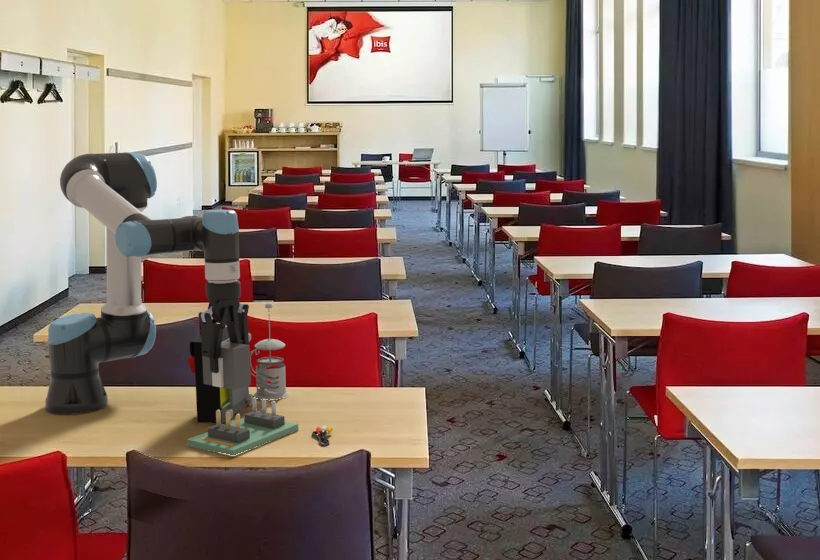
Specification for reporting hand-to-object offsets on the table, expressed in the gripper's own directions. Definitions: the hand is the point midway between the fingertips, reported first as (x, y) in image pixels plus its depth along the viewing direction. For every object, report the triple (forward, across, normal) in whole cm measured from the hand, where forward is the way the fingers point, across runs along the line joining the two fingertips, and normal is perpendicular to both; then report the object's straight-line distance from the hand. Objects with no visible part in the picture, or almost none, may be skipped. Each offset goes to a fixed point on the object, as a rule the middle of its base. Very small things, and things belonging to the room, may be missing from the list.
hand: (227, 383), depth 213 cm
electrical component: (+14, +17, +18) cm, 29 cm away
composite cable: (+15, +14, -15) cm, 25 cm away
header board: (+14, +5, 0) cm, 15 cm away
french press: (+14, +35, +19) cm, 42 cm away
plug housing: (0, 0, 0) cm, 0 cm away
